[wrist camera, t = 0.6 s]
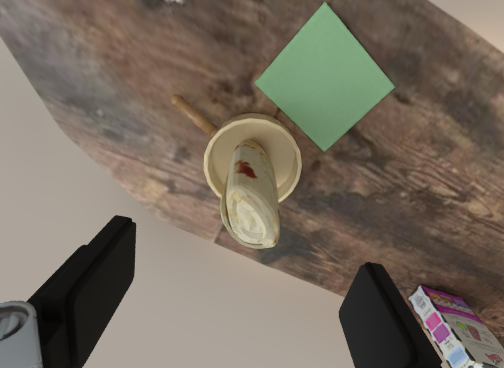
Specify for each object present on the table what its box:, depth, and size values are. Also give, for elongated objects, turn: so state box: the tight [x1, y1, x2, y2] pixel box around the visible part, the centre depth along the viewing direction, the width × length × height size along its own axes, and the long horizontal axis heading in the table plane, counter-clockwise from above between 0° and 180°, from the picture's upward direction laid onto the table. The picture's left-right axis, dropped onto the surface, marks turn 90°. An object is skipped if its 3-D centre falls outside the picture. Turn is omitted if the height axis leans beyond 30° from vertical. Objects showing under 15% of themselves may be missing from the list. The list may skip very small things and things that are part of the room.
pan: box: [204, 113, 302, 202], centre depth 44 cm, size 15×15×4 cm
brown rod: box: [171, 94, 219, 138], centre depth 39 cm, size 8×2×2 cm, turn 48°
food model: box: [220, 139, 280, 249], centre depth 36 cm, size 10×7×20 cm
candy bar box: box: [408, 285, 504, 368], centre depth 52 cm, size 11×5×16 cm, turn 70°
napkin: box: [254, 2, 395, 152], centre depth 40 cm, size 16×14×1 cm
